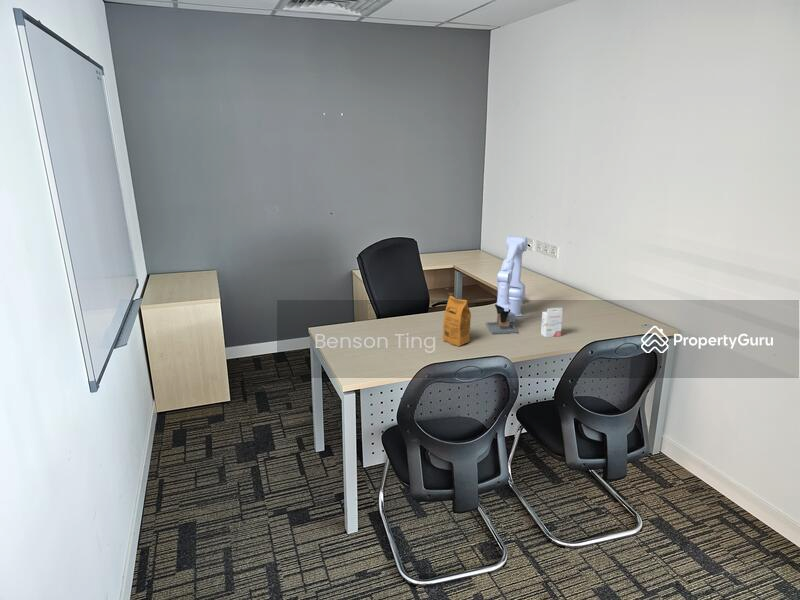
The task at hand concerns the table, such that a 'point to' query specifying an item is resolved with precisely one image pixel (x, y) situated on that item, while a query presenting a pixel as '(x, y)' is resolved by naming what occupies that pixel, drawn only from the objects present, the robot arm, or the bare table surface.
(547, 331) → the ink cartridge box
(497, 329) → the tray
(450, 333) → the coffee package
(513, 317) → the slate blue block
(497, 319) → the walnut cube
